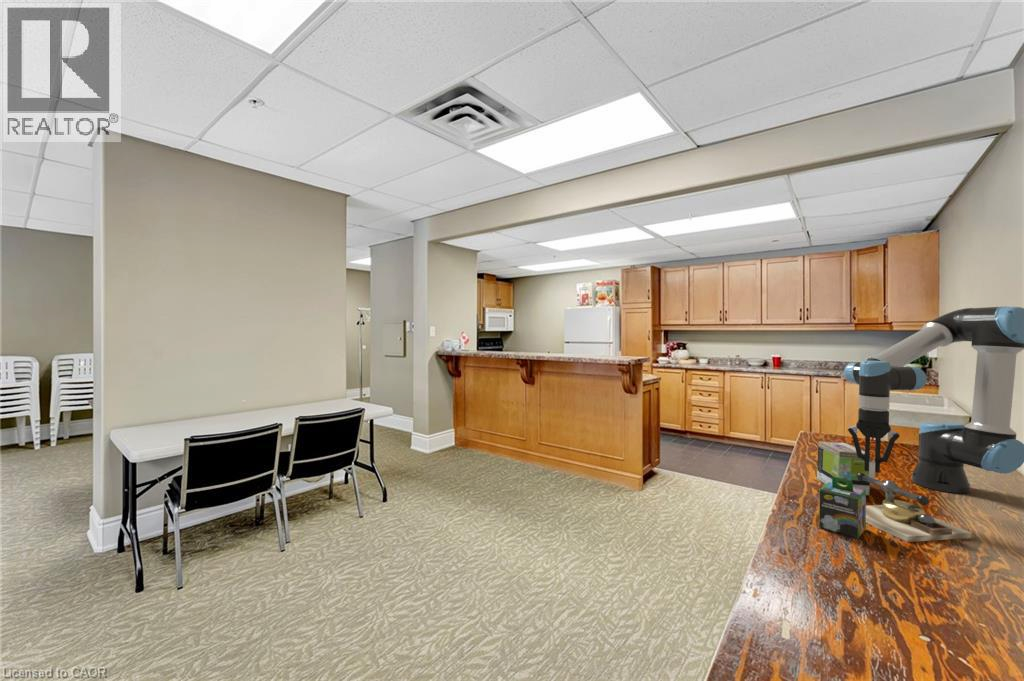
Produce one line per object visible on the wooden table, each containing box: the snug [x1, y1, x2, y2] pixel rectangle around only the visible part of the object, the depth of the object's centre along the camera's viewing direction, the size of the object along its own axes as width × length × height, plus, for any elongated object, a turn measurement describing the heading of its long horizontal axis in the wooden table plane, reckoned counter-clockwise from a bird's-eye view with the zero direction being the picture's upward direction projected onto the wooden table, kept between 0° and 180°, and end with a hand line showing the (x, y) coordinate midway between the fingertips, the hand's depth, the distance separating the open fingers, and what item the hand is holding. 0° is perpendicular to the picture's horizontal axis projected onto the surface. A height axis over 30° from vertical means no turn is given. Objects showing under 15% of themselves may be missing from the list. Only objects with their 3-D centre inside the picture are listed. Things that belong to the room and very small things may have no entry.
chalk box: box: [818, 477, 867, 540], centre depth 121 cm, size 9×9×15 cm
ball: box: [918, 513, 935, 527], centre depth 119 cm, size 4×4×4 cm
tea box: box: [816, 441, 872, 496], centre depth 154 cm, size 15×10×15 cm, turn 168°
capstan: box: [856, 473, 930, 524], centre depth 129 cm, size 22×9×9 cm, turn 5°
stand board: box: [866, 504, 972, 543], centre depth 124 cm, size 20×19×3 cm
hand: (871, 481), depth 137 cm, fingers closed
